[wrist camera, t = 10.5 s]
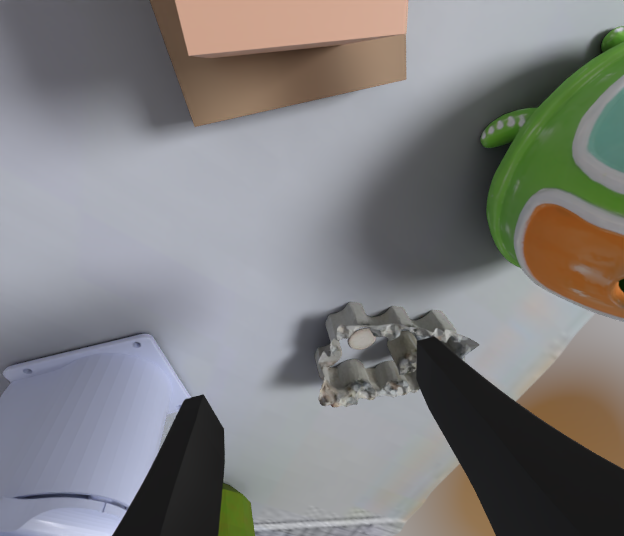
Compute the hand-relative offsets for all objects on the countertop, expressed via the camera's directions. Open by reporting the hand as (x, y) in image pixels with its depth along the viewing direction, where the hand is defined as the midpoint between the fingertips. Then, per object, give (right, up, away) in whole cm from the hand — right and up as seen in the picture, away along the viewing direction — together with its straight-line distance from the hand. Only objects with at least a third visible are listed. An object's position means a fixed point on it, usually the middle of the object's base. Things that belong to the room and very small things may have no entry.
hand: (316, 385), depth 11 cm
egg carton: (+5, -1, +15) cm, 16 cm away
